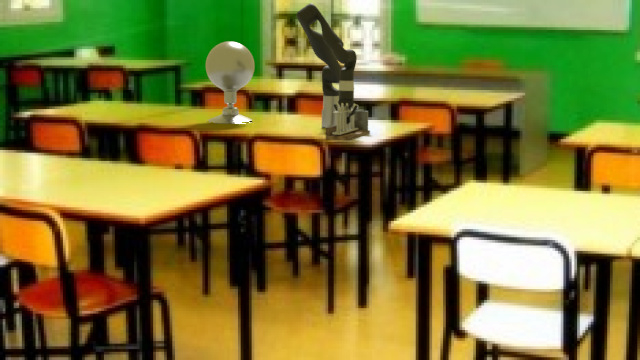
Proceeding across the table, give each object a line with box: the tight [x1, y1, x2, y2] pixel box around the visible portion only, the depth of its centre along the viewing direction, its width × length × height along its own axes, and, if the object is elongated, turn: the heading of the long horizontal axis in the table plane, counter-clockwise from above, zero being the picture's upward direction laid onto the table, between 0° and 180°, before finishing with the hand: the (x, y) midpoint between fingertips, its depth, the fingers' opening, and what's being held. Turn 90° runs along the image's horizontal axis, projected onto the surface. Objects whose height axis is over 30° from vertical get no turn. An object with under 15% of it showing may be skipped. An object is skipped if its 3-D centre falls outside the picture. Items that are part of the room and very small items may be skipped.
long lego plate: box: [332, 106, 359, 135], centre depth 510 cm, size 25×4×13 cm, turn 157°
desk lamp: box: [205, 41, 255, 124], centre depth 574 cm, size 28×28×45 cm
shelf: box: [325, 110, 371, 141], centre depth 512 cm, size 12×31×12 cm, turn 157°
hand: (345, 123), depth 510 cm, fingers closed on long lego plate
